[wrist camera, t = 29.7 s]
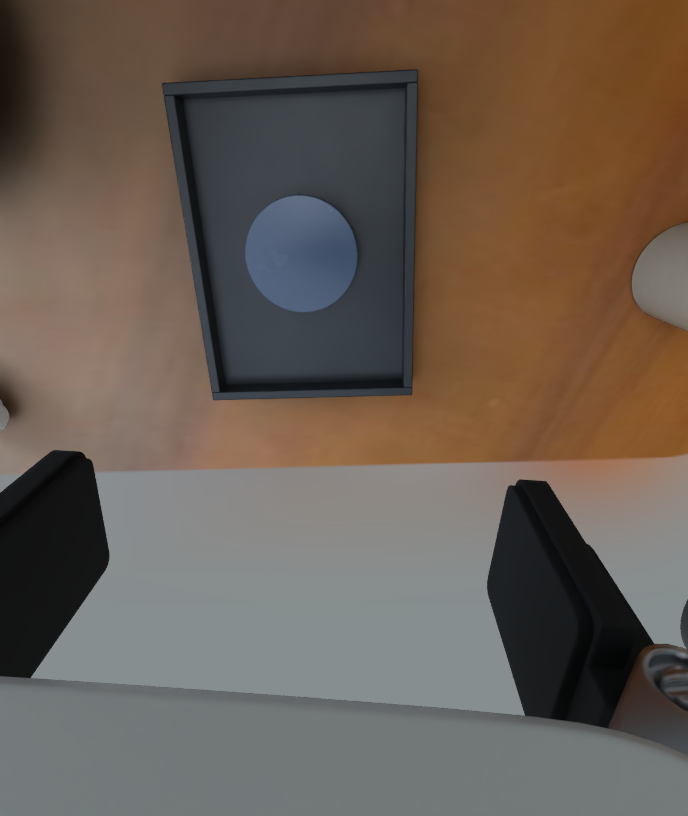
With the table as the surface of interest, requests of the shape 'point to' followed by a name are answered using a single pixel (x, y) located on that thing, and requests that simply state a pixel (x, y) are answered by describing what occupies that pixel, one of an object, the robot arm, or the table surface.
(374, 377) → the tray
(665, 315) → the jar
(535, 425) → the table surface
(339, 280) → the jar lid
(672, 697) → the robot arm
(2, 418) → the garlic bulb
